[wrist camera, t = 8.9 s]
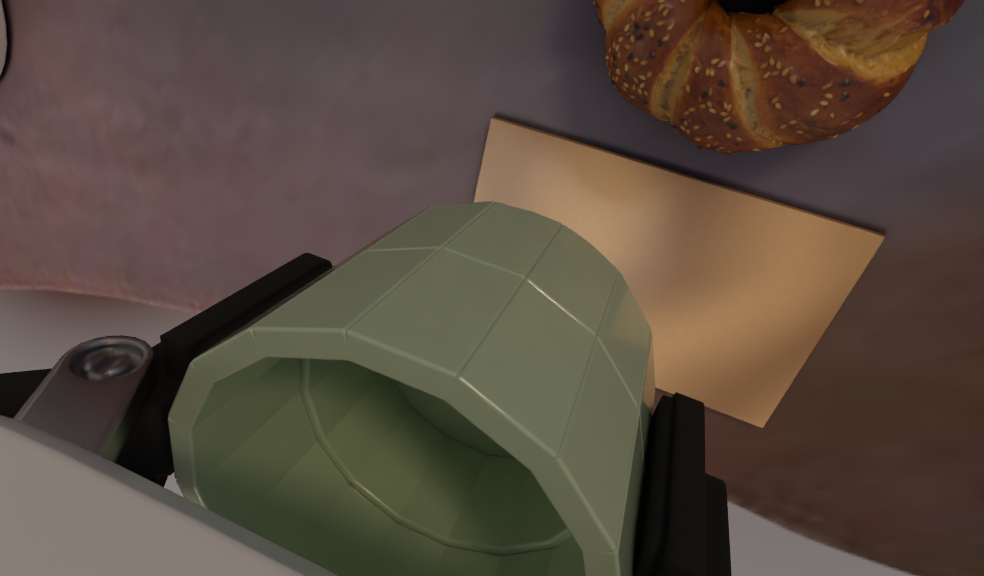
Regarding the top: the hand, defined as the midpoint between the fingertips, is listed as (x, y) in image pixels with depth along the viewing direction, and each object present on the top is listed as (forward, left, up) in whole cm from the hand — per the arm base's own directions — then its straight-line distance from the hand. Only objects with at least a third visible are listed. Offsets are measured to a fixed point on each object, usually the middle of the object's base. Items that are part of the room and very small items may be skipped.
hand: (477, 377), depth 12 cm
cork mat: (+3, -3, -14) cm, 14 cm away
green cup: (0, 0, -1) cm, 1 cm away
